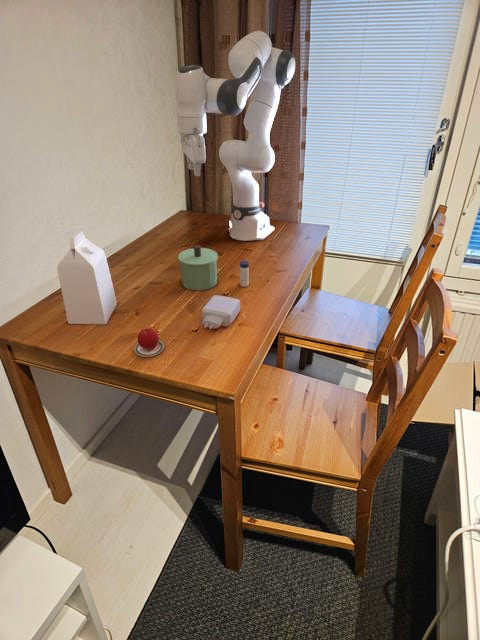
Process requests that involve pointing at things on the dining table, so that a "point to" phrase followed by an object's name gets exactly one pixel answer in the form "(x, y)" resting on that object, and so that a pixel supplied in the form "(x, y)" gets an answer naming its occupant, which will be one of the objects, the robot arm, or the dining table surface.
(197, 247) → the tin lid
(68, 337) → the dining table surface
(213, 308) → the charger
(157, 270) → the dining table surface
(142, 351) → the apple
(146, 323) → the dining table surface
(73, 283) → the milk
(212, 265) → the tin
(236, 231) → the robot arm
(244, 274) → the glue stick
